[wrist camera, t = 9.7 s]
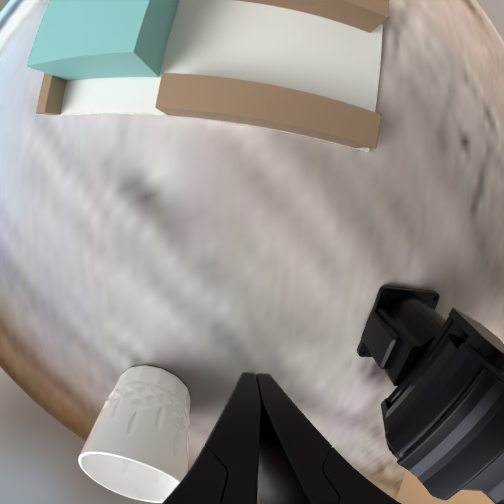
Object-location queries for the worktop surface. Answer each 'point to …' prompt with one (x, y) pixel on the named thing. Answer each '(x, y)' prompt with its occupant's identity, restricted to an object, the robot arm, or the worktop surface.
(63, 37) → the block
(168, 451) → the white cup
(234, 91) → the chute
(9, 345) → the worktop surface
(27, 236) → the worktop surface
